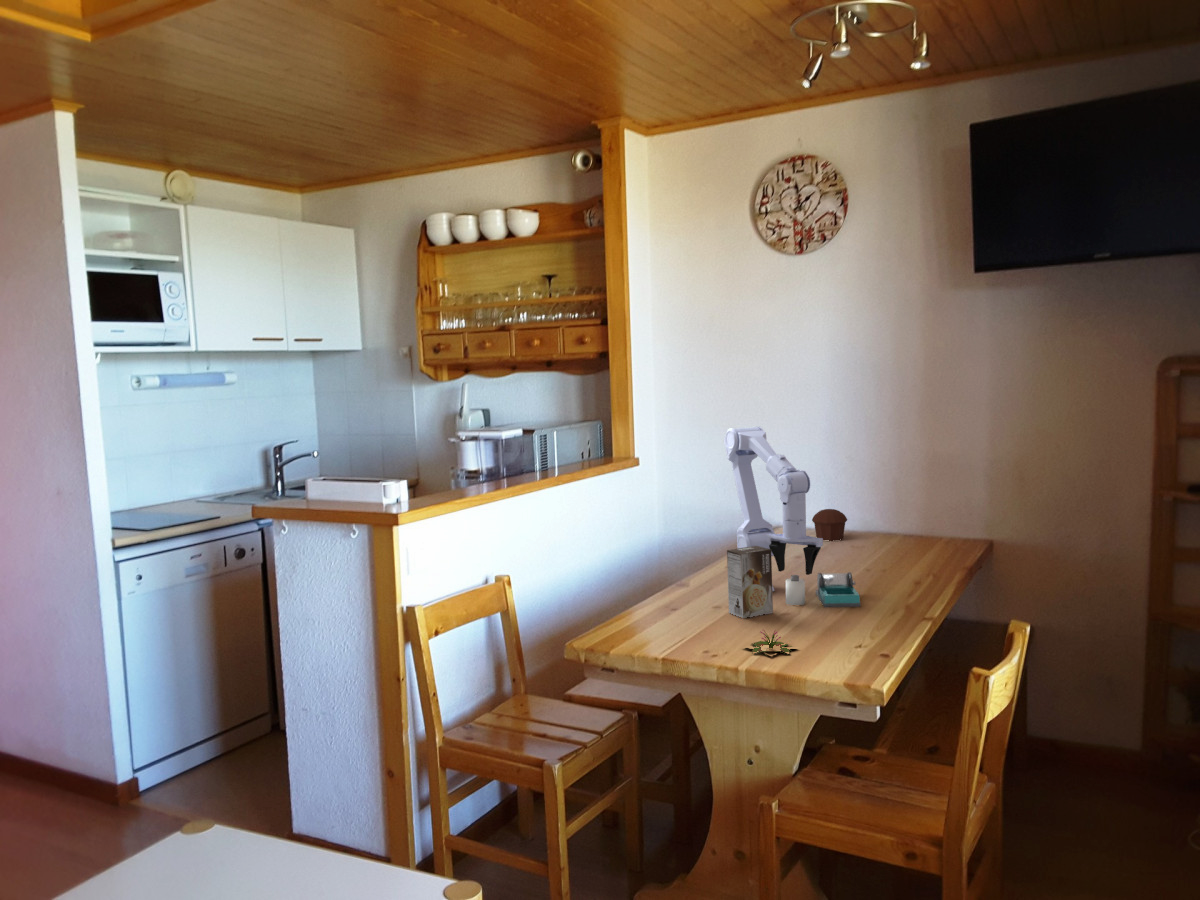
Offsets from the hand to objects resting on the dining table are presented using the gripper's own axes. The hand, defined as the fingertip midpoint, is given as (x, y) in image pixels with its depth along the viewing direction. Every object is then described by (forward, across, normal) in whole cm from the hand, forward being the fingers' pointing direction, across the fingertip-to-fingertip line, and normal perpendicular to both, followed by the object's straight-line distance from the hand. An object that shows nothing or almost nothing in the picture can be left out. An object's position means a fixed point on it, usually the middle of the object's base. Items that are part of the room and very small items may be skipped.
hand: (795, 572), depth 244 cm
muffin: (+8, +28, -82) cm, 87 cm away
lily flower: (+9, -13, +37) cm, 40 cm away
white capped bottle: (+8, 0, 0) cm, 8 cm away
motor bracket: (+8, -8, -9) cm, 14 cm away
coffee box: (+8, +5, +14) cm, 17 cm away
